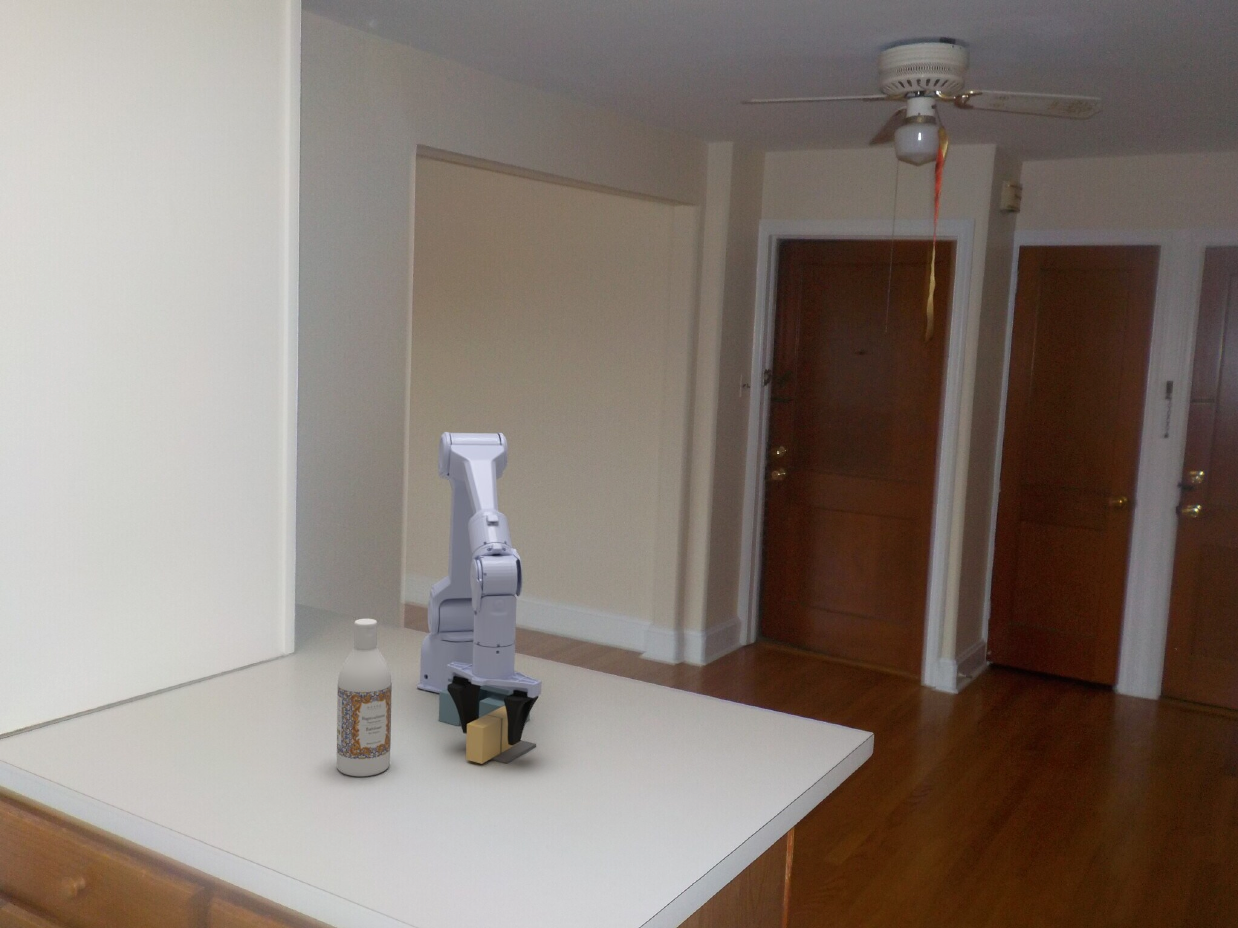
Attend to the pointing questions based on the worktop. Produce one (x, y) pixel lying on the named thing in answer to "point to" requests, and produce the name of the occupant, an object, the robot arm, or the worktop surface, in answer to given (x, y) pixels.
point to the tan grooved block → (487, 736)
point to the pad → (514, 751)
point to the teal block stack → (486, 703)
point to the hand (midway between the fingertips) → (491, 736)
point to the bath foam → (364, 706)
